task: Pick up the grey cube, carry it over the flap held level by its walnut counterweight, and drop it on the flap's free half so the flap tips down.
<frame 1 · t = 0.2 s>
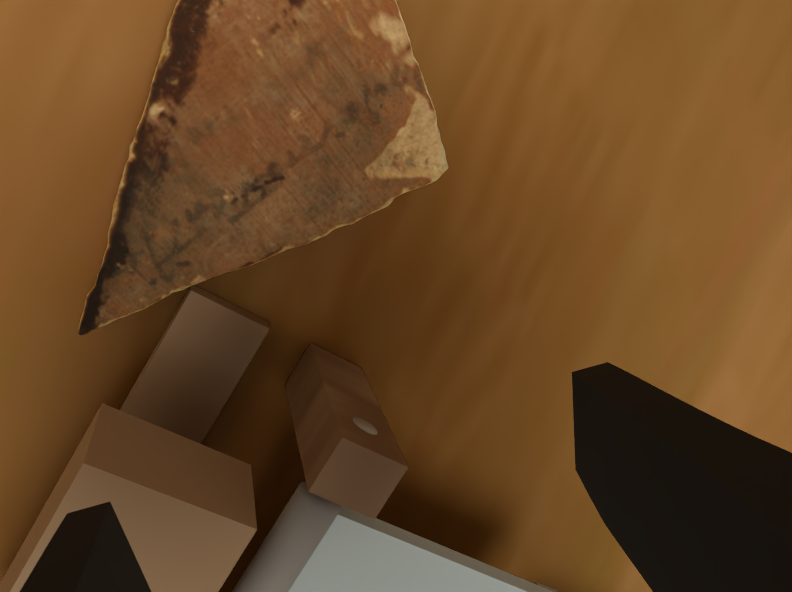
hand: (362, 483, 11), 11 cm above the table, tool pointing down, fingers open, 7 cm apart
shard: (287, 159, 21), on the table
frame: (225, 534, 23), on the table
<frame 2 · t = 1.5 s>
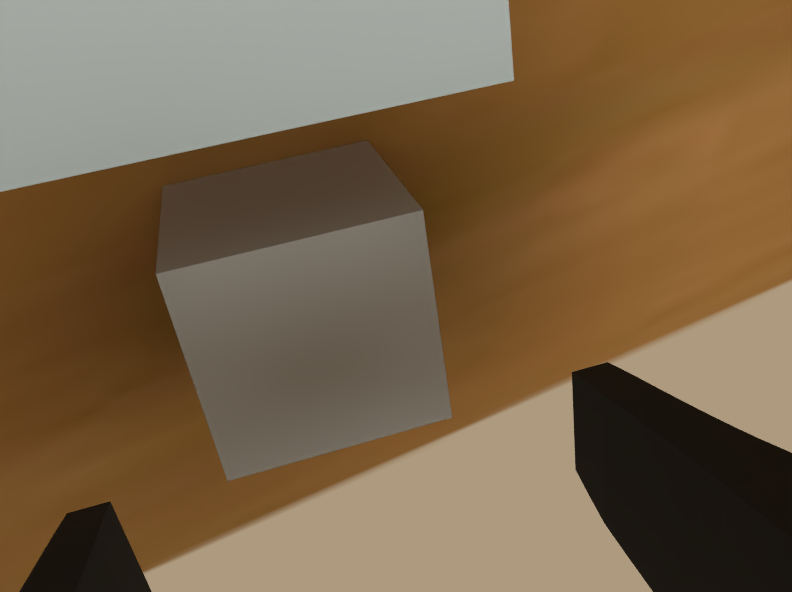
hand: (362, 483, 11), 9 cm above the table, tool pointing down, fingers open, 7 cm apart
grey cube: (289, 253, 19), on the table
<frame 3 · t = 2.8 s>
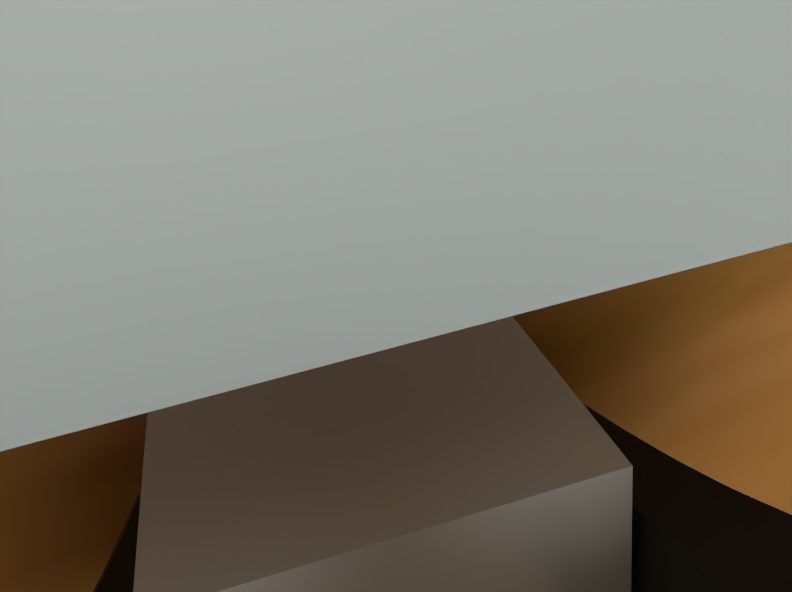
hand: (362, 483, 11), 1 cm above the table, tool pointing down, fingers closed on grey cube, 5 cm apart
grey cube: (345, 427, 13), on the table, touching gripper
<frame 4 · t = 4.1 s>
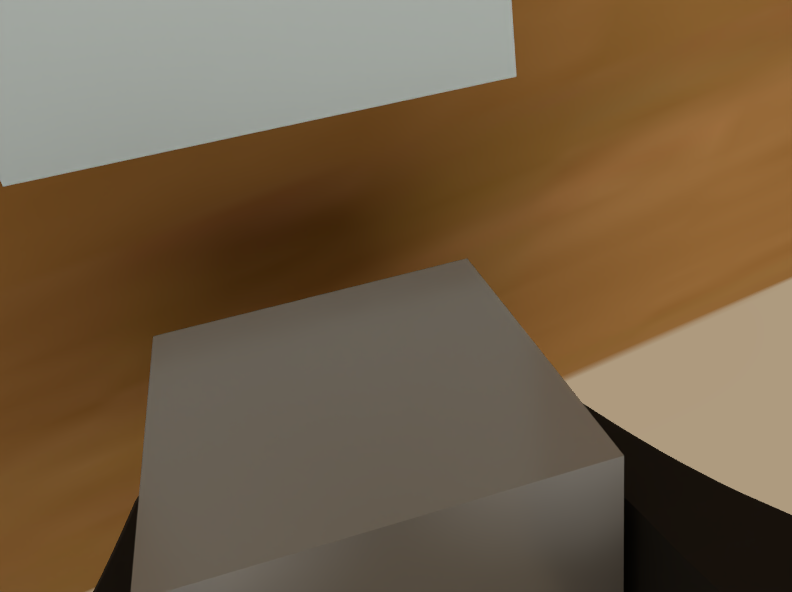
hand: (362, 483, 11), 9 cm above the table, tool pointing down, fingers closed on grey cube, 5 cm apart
grey cube: (343, 421, 13), point 7 cm above the table, touching gripper
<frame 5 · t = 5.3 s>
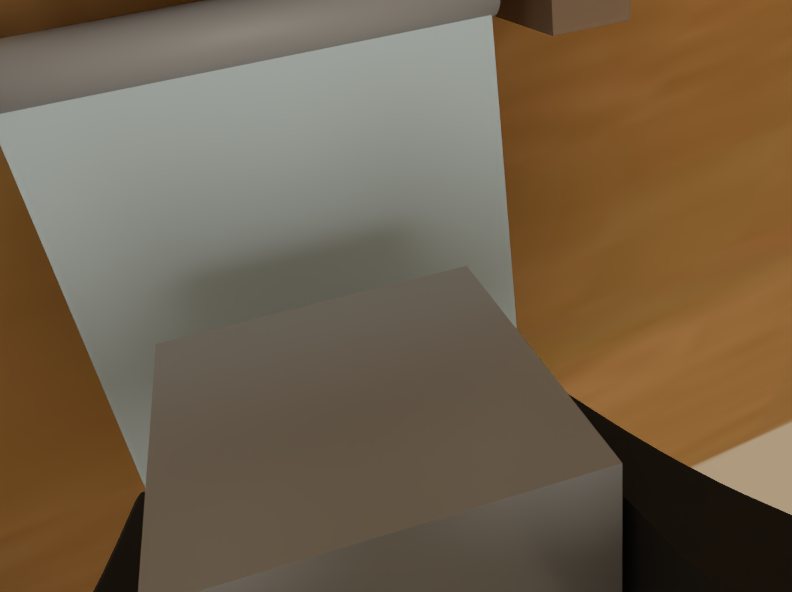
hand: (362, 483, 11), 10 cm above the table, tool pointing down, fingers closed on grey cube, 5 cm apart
flap: (266, 126, 14), point 5 cm above the table, hinge at 0.0°
grey cube: (344, 427, 13), point 8 cm above the table, touching gripper
frame: (231, 3, 17), on the table
when the fingers open (10 cm above the table, at t = 5.9 s): grey cube drops 4 cm, resting on flap.
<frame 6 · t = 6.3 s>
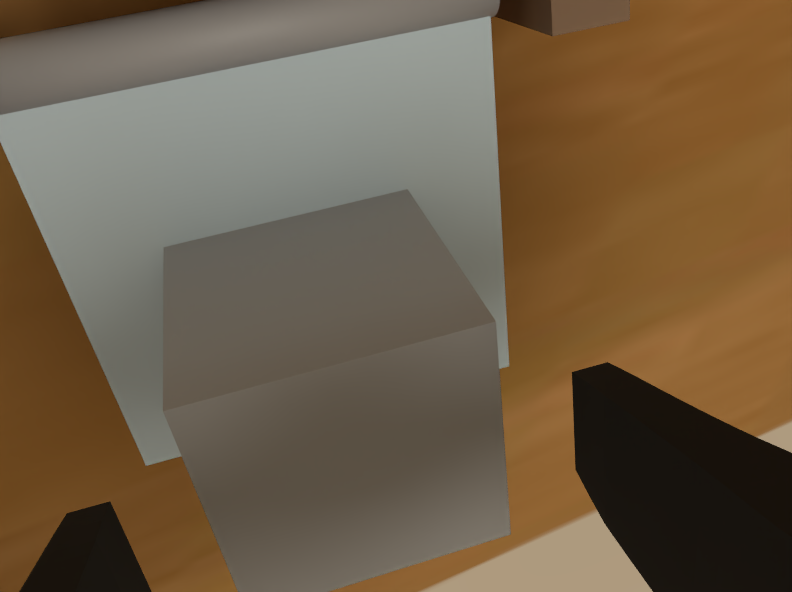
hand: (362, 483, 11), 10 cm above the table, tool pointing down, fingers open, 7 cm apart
flap: (265, 124, 14), point 4 cm above the table, hinge at -4.7°, touching grey cube
grey cube: (312, 317, 16), point 4 cm above the table, touching flap
frame: (230, 3, 17), on the table
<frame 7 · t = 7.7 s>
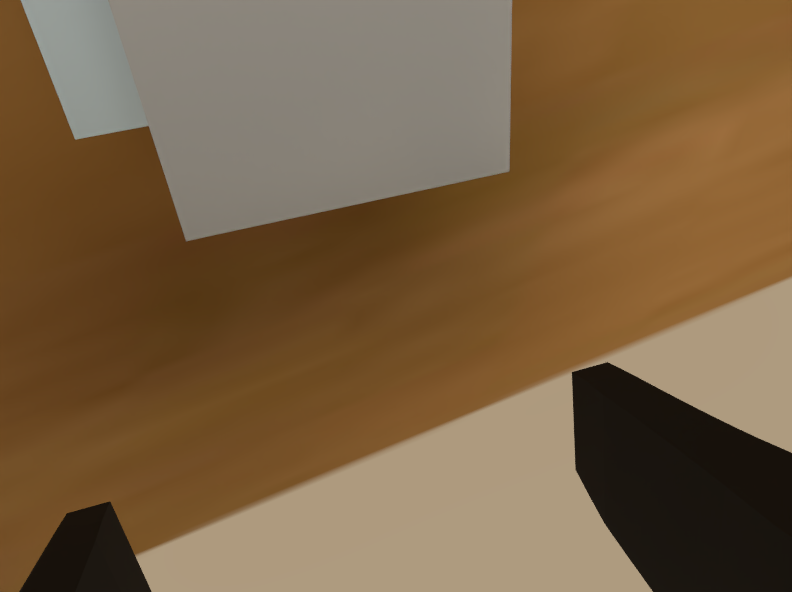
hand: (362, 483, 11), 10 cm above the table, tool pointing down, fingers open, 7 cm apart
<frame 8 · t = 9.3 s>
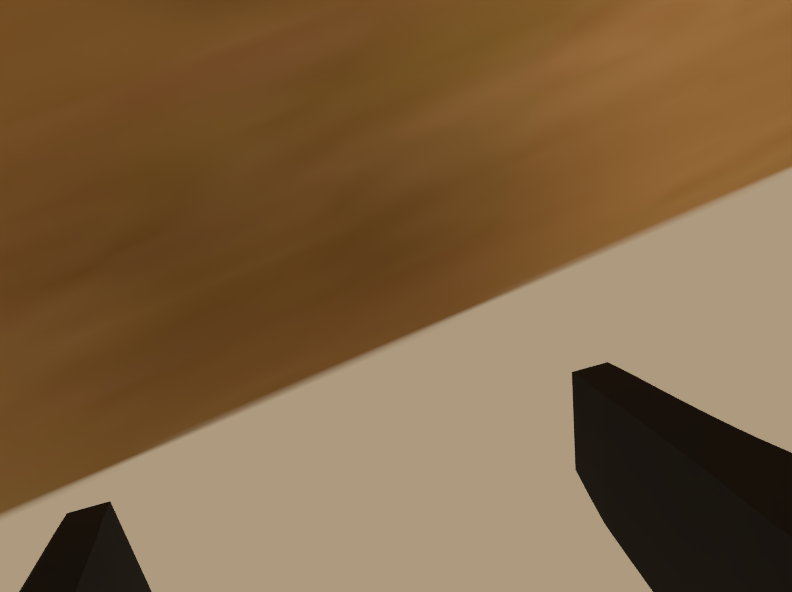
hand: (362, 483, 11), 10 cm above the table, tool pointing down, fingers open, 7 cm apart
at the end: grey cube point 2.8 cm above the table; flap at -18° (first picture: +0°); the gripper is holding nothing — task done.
